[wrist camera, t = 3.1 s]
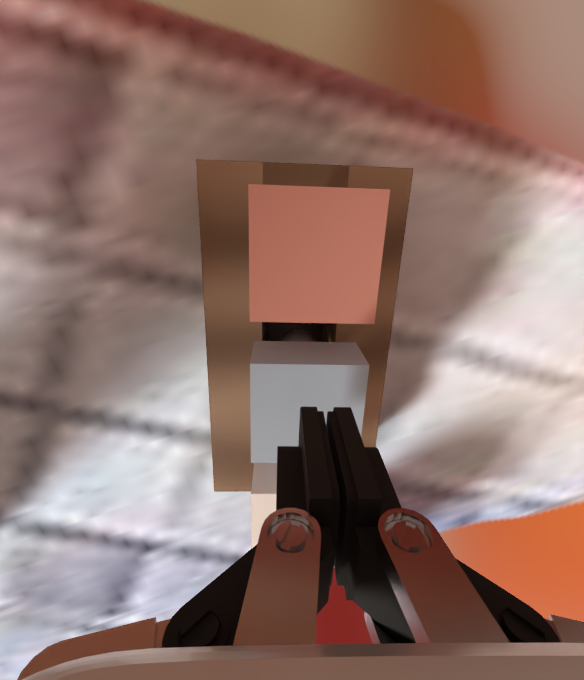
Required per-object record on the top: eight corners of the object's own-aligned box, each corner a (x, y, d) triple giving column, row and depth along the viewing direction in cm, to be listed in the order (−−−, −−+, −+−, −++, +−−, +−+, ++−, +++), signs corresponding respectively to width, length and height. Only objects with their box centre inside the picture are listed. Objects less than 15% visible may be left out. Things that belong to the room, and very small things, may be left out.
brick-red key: (339, 283, 20) (374, 324, 13) (259, 281, 19) (249, 321, 12) (346, 196, 18) (390, 189, 11) (259, 193, 18) (248, 183, 11)
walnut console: (353, 443, 28) (369, 491, 23) (225, 443, 27) (214, 491, 23) (383, 177, 21) (413, 168, 17) (214, 170, 21) (196, 159, 16)
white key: (325, 462, 24) (345, 567, 17) (259, 462, 23) (251, 568, 16) (330, 404, 22) (354, 493, 15) (259, 403, 22) (251, 494, 15)
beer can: (331, 578, 33) (358, 770, 22) (269, 554, 32) (264, 744, 20) (371, 531, 31) (425, 713, 20) (308, 503, 30) (327, 682, 18)
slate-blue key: (331, 381, 22) (357, 462, 15) (259, 380, 21) (250, 462, 14) (337, 311, 20) (369, 365, 13) (259, 309, 20) (249, 363, 13)
